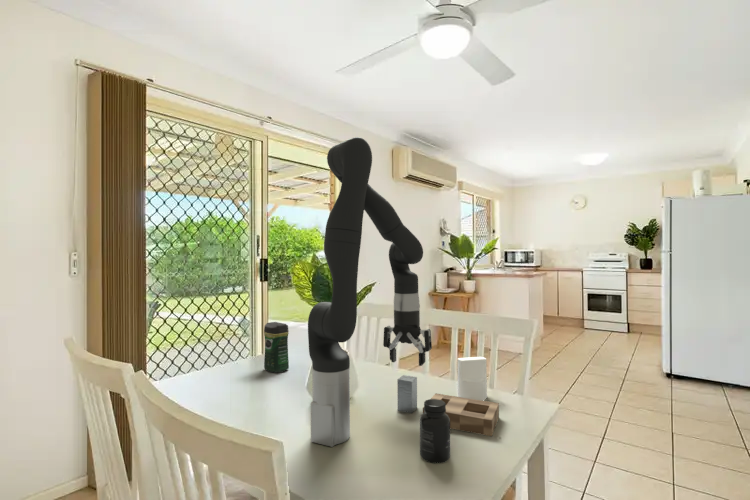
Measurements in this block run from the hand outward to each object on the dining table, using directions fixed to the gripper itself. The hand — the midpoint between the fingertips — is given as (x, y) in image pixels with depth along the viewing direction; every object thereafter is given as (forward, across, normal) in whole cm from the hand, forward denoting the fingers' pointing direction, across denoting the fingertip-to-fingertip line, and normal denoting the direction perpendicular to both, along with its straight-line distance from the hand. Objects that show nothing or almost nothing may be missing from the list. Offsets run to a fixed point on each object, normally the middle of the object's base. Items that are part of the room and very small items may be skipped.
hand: (407, 363), depth 114 cm
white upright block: (+14, +15, +18) cm, 27 cm away
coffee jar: (+13, -60, +14) cm, 63 cm away
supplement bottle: (+13, +15, -22) cm, 30 cm away
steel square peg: (+13, 0, 0) cm, 13 cm away
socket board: (+13, +16, -2) cm, 21 cm away
